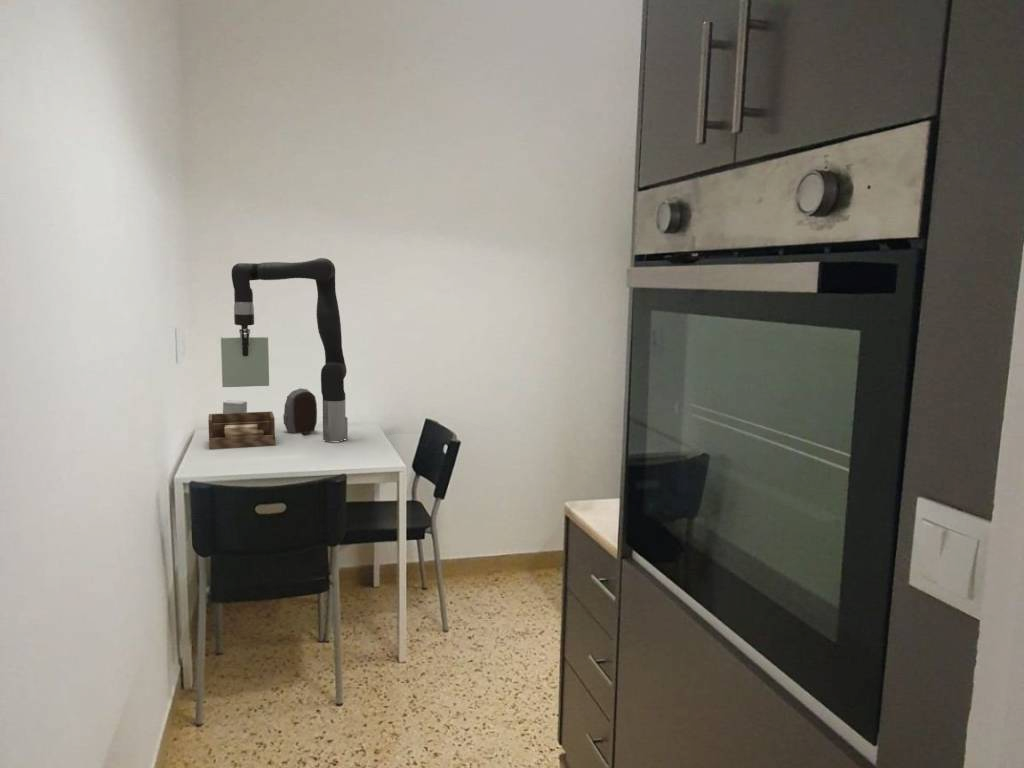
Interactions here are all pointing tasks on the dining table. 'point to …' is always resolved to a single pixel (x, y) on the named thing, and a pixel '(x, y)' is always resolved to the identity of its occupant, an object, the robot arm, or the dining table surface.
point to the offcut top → (241, 429)
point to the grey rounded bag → (300, 412)
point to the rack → (260, 418)
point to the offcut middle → (259, 433)
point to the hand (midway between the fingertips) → (245, 355)
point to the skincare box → (234, 406)
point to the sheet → (245, 362)
